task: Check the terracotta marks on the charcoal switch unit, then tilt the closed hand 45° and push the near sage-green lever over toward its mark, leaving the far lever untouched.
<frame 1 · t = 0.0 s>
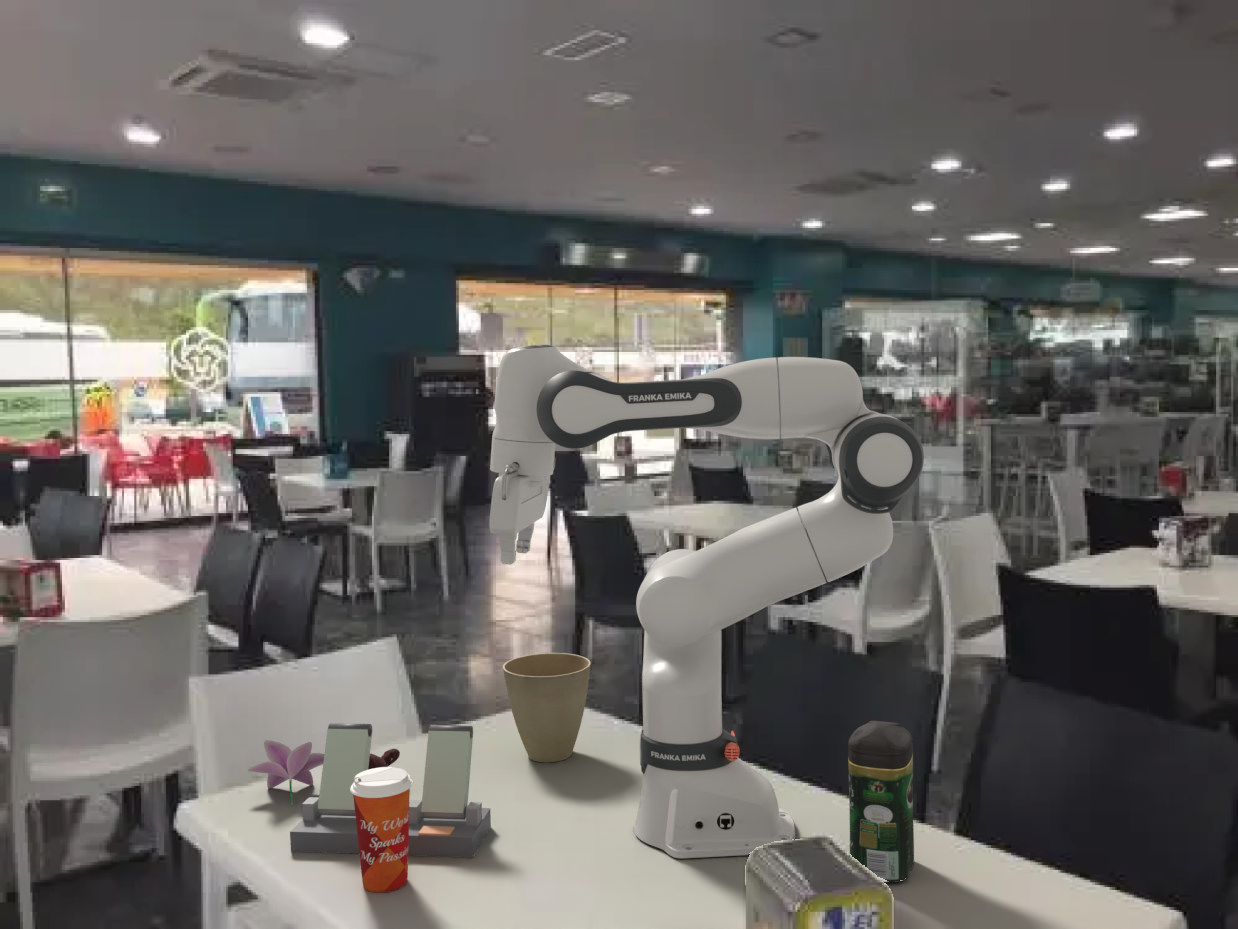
hand: (515, 557, 151), 39 cm above the table, tool pointing down, fingers open, 8 cm apart
lever near: (447, 771, 151), point 9 cm above the table, hinge at 25.0°
plant pot: (549, 756, 183), on the table
lily: (292, 796, 168), on the table
switch unit: (393, 839, 150), on the table
coffee jar: (881, 870, 138), on the table
lever far: (345, 769, 153), point 9 cm above the table, hinge at 25.0°
icecream: (366, 798, 167), on the table
paper cup: (385, 884, 137), on the table
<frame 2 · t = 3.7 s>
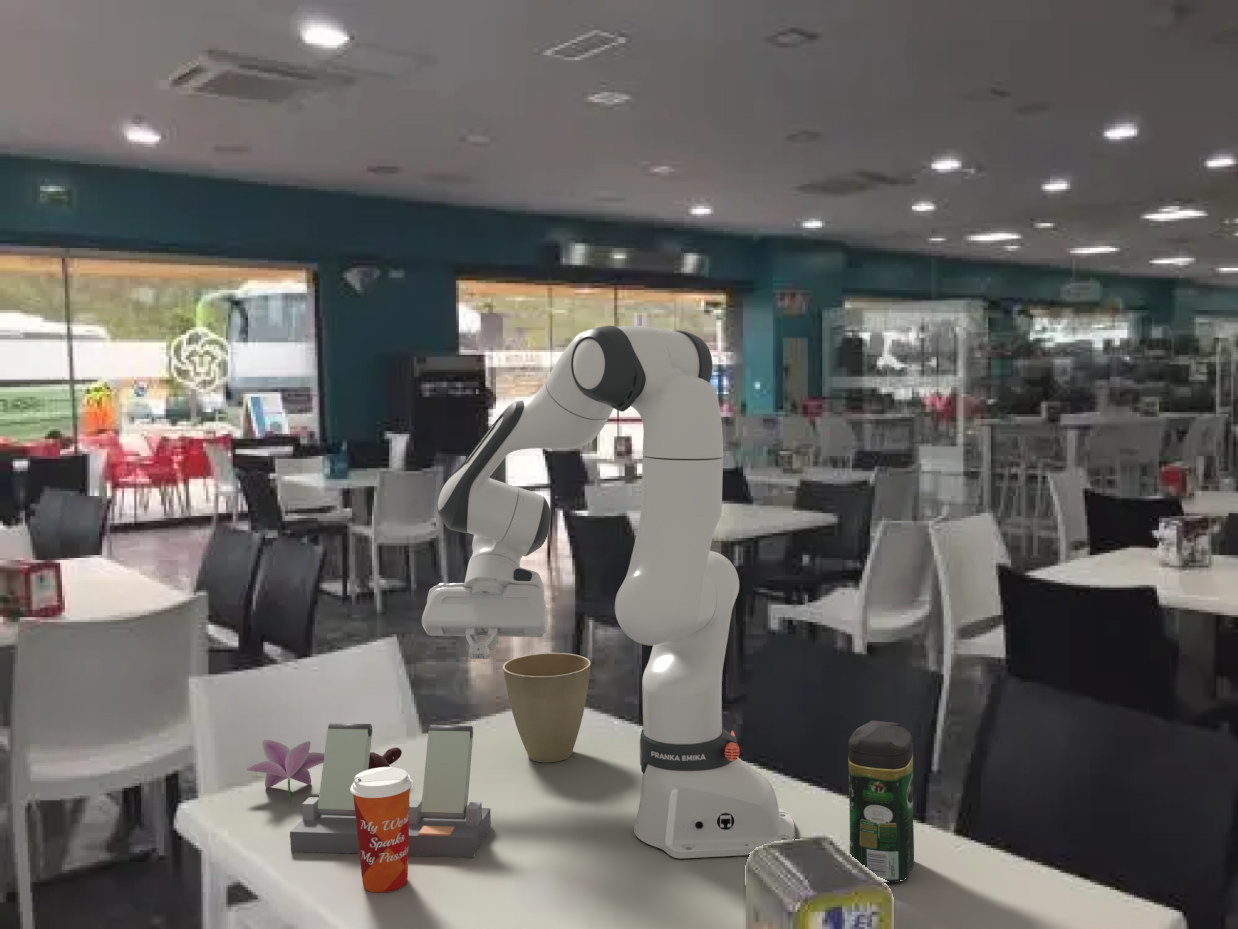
hand: (478, 657, 169), 21 cm above the table, tool tilted 45°, fingers closed
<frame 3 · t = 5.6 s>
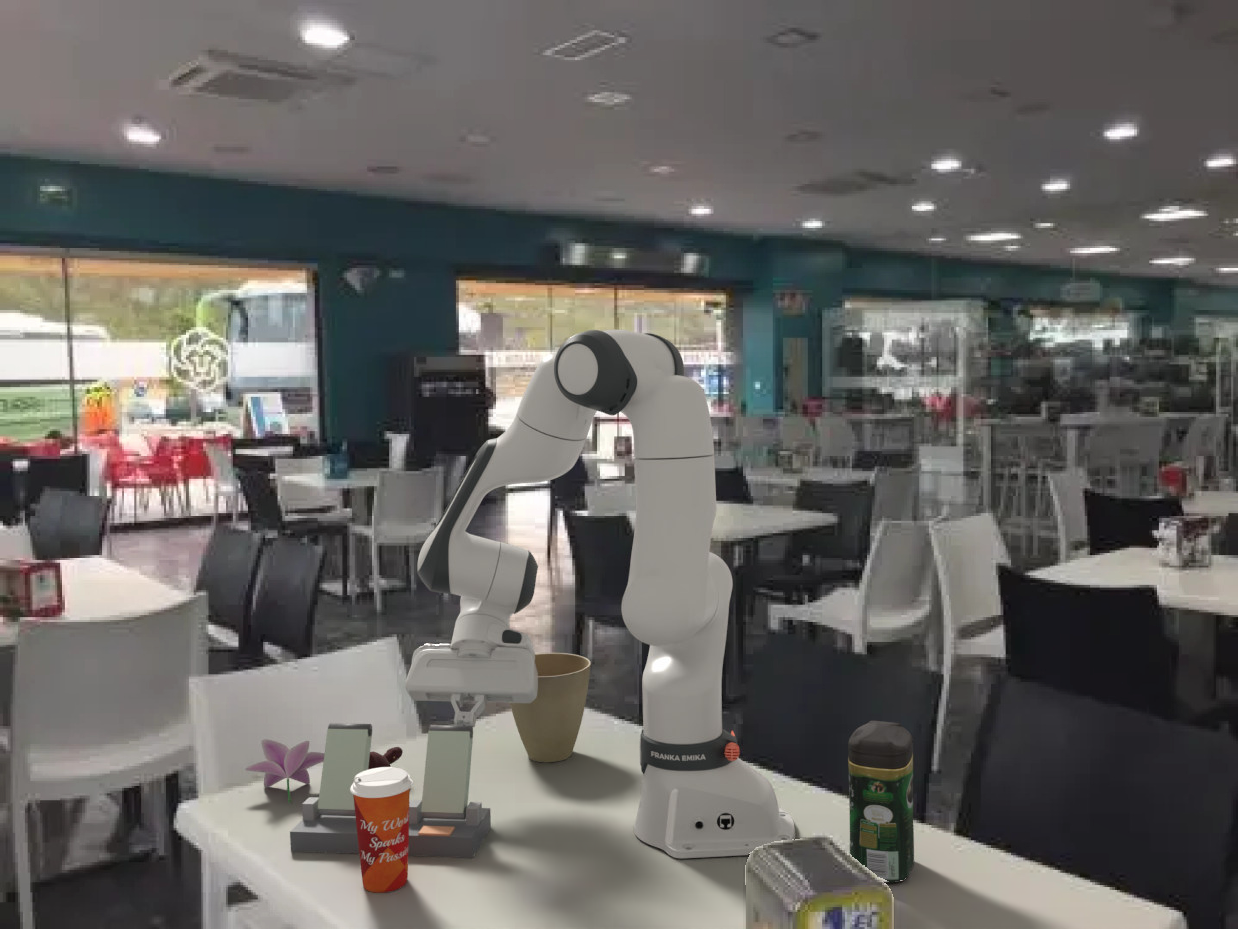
hand: (464, 725, 160), 13 cm above the table, tool tilted 45°, fingers closed
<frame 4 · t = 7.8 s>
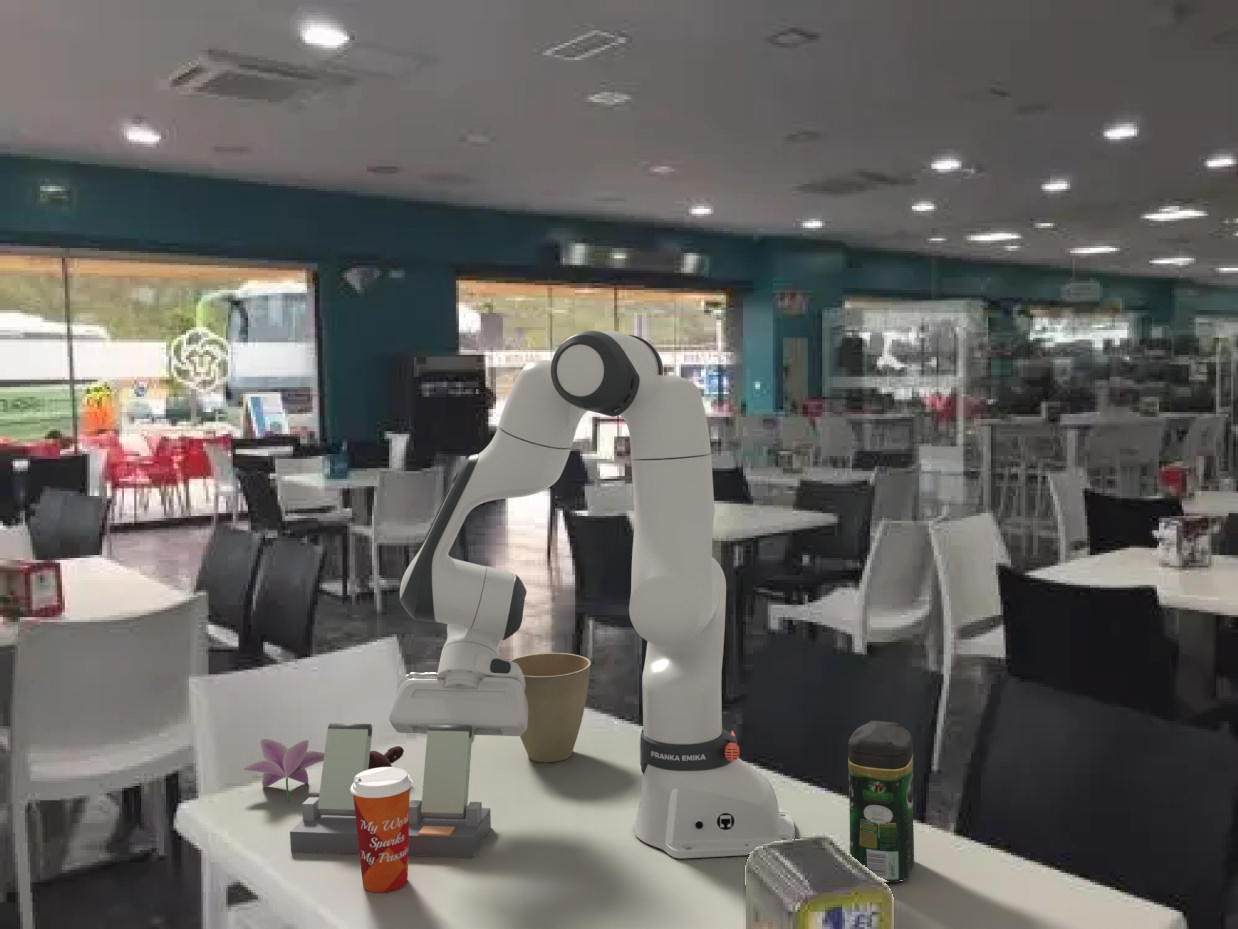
hand: (450, 760, 153), 10 cm above the table, tool tilted 45°, fingers closed, pressing on lever near
lever near: (447, 771, 151), point 9 cm above the table, hinge at 22.5°, touching gripper
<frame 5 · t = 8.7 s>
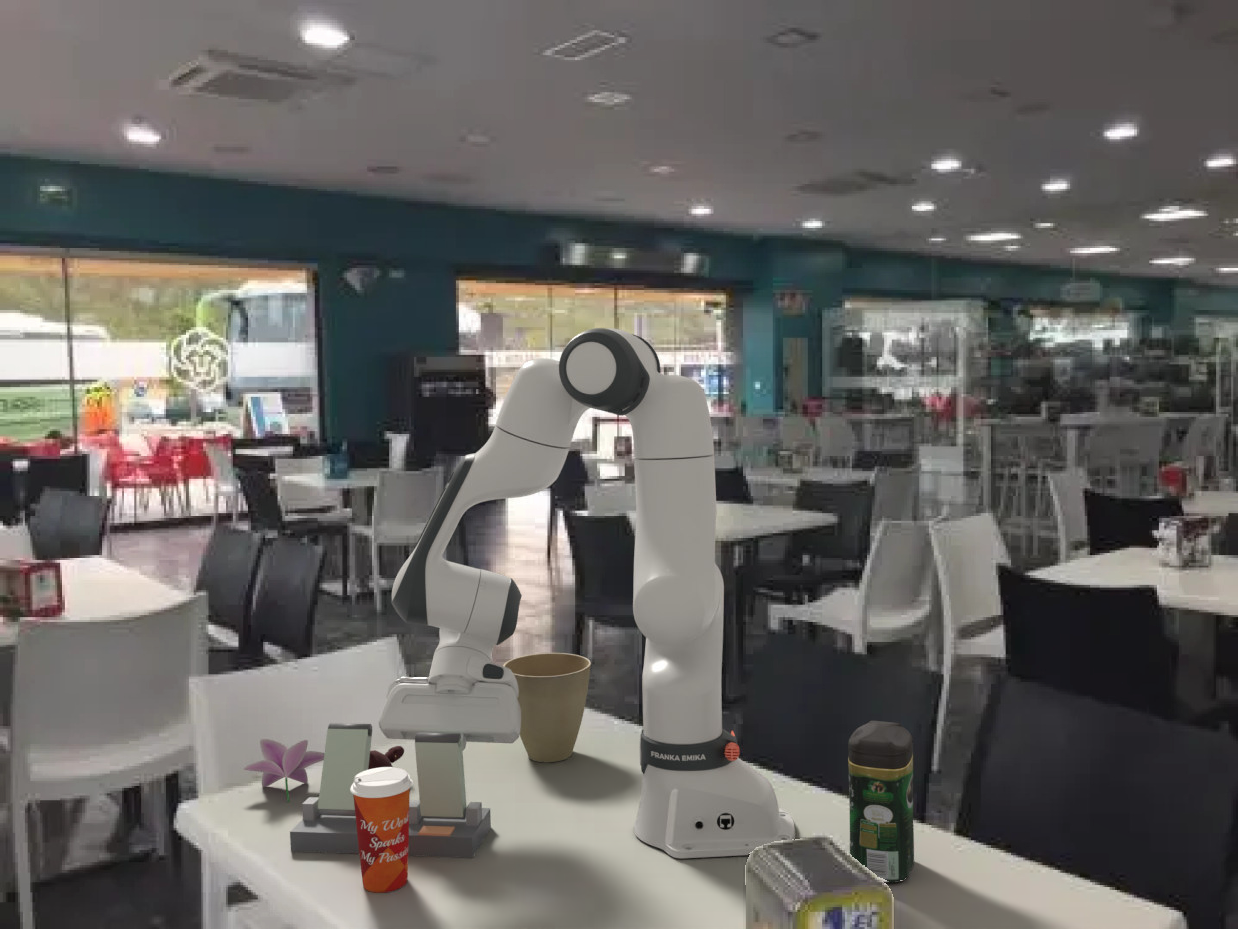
hand: (440, 767, 149), 10 cm above the table, tool tilted 45°, fingers closed, pressing on lever near
lever near: (441, 776, 148), point 10 cm above the table, hinge at -7.7°, touching gripper
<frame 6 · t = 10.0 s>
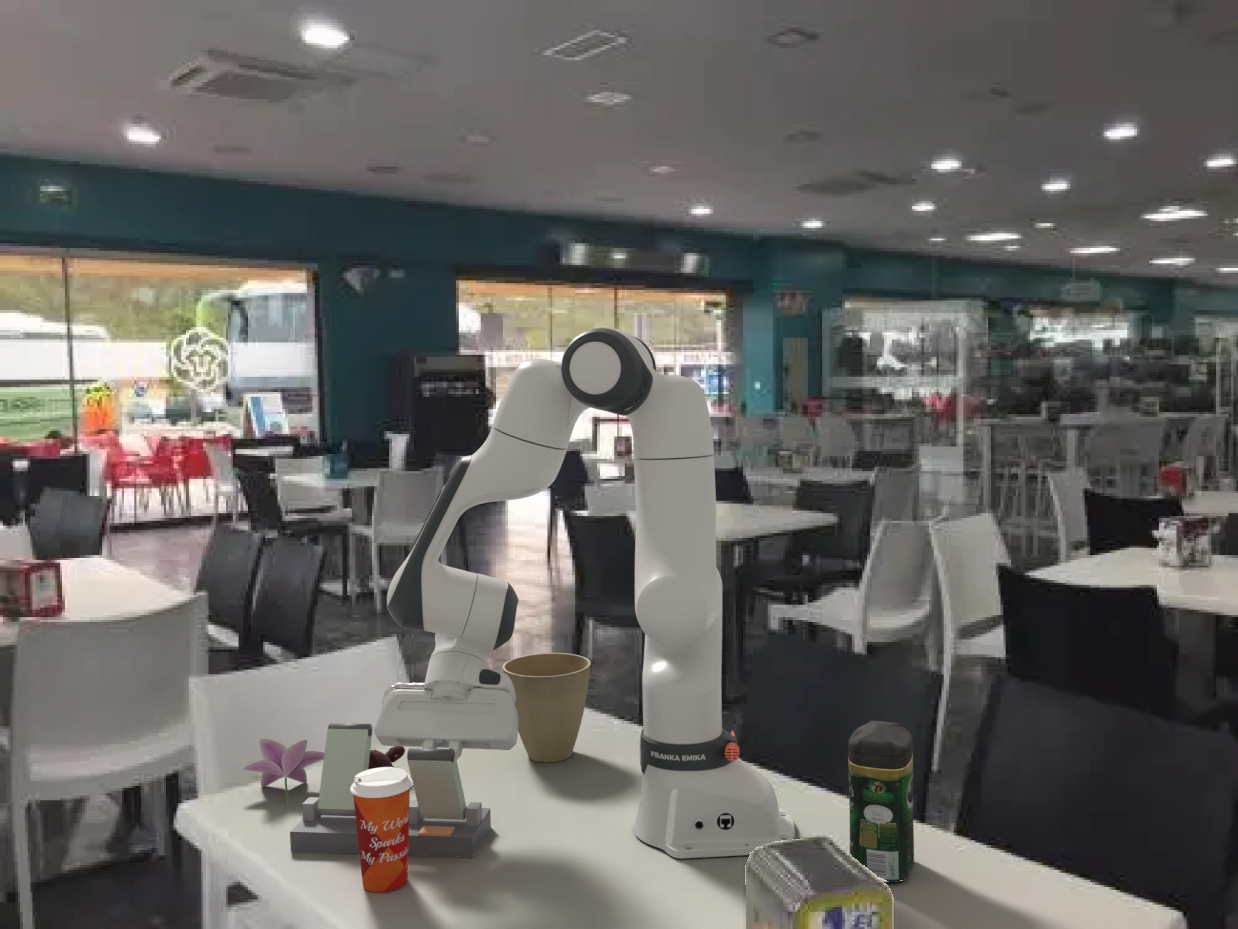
hand: (437, 775, 147), 10 cm above the table, tool tilted 45°, fingers closed, pressing on lever near
lever near: (437, 784, 146), point 9 cm above the table, hinge at -26.2°, touching gripper
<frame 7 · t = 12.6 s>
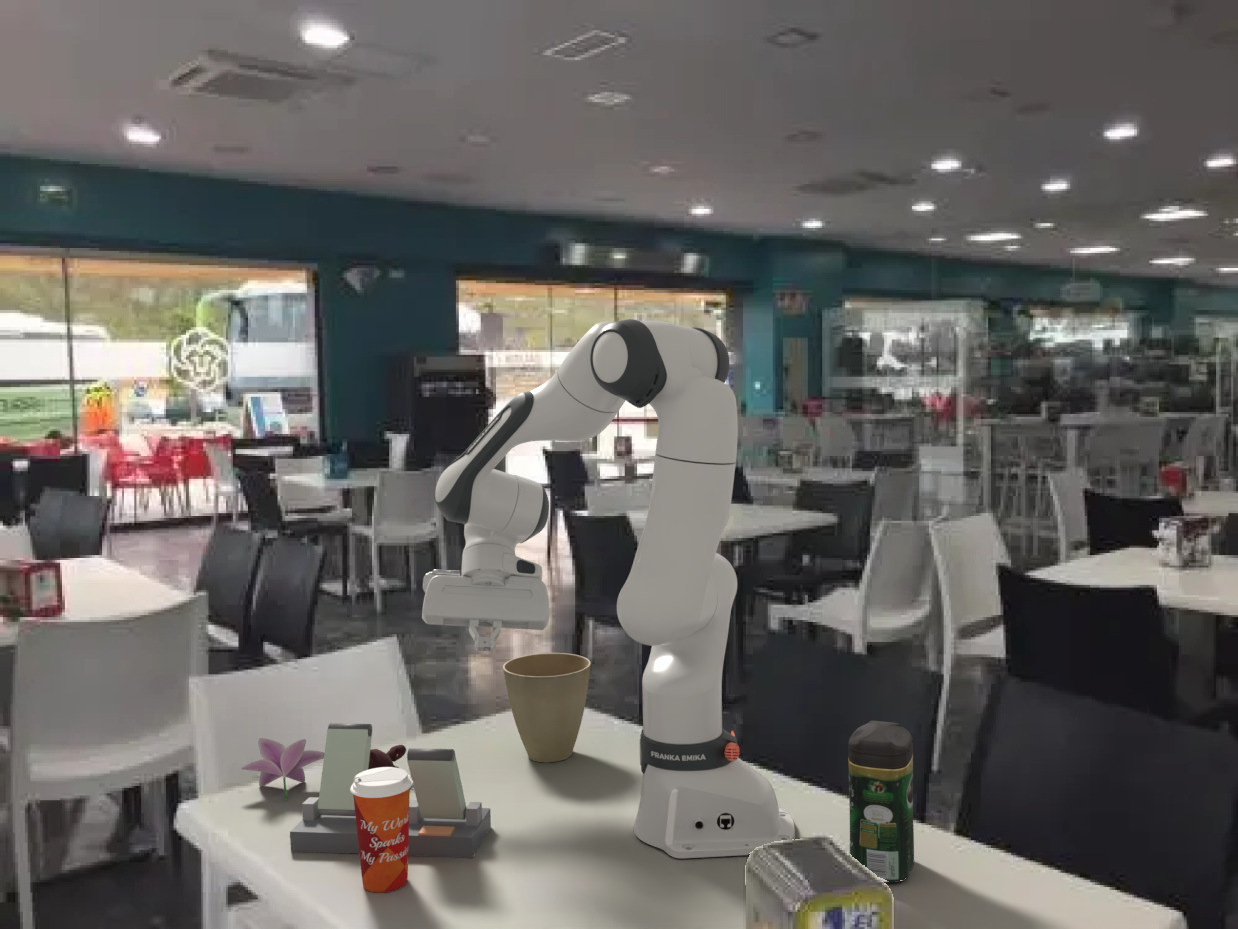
hand: (484, 650, 168), 22 cm above the table, tool tilted 40°, fingers closed
lever near: (437, 784, 146), point 9 cm above the table, hinge at -26.3°
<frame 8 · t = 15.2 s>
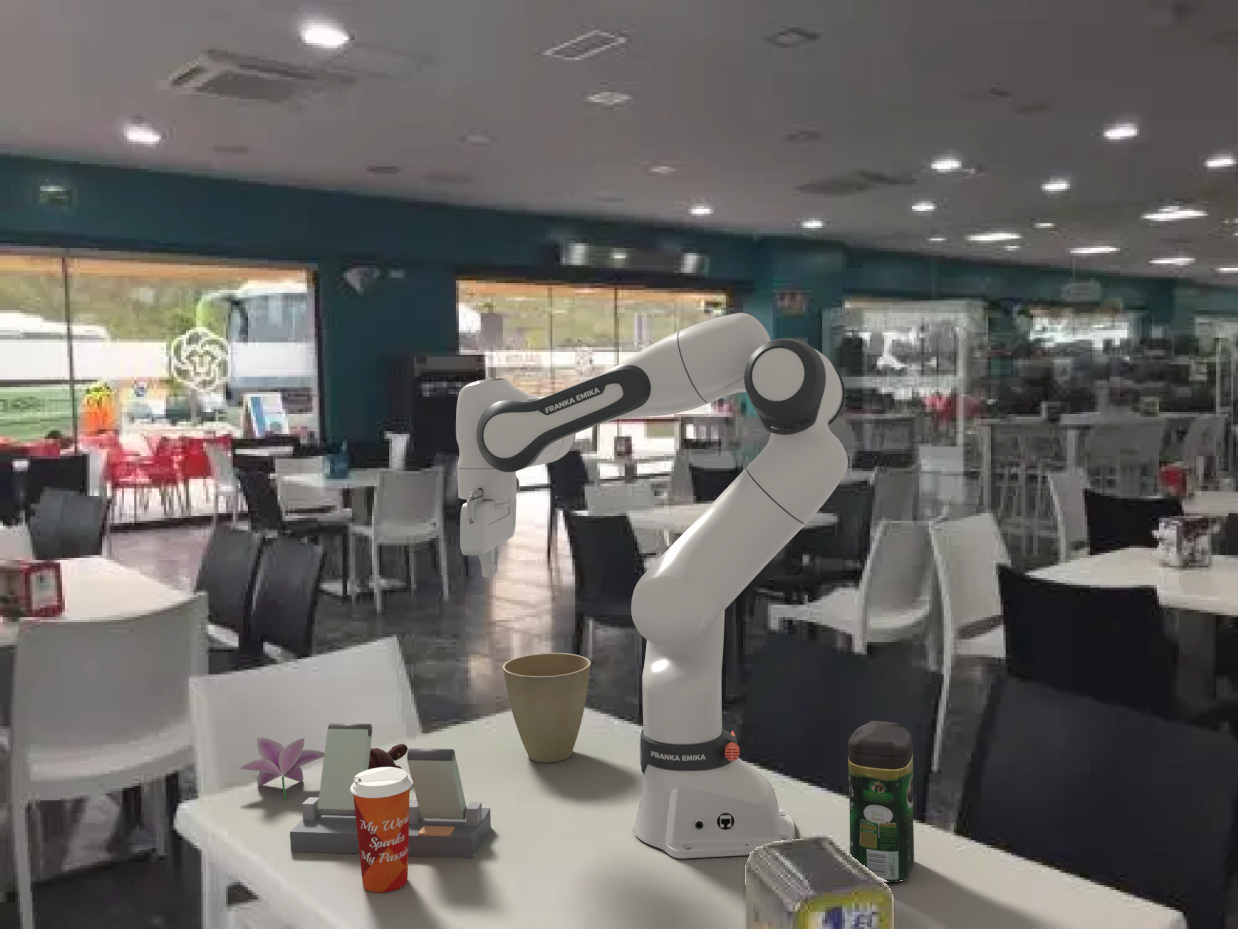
hand: (490, 575, 164), 34 cm above the table, tool pointing down, fingers closed
at the end: lever near at -26° (first picture: +25°); lever far at +25° (first picture: +25°) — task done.
